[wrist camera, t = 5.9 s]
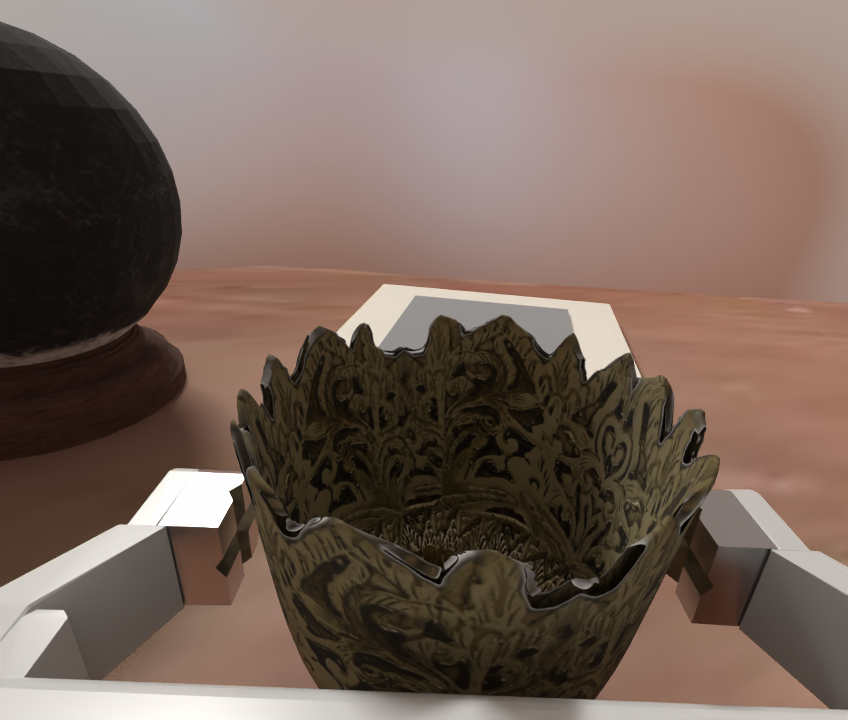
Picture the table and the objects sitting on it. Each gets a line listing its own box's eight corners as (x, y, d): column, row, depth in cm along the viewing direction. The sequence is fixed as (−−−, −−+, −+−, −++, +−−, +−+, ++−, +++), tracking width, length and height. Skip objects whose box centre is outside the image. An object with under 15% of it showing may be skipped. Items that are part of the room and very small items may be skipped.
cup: (523, 548, 16) (560, 301, 13) (696, 837, 9) (862, 487, 6) (274, 594, 14) (241, 319, 11) (278, 995, 8) (200, 614, 4)
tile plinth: (606, 320, 36) (610, 300, 35) (654, 446, 21) (662, 415, 21) (384, 299, 38) (384, 280, 38) (294, 399, 24) (292, 370, 23)
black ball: (-249, 510, 16) (-633, -89, 10) (-51, 350, 28) (-175, 21, 21) (199, 447, 20) (119, -11, 14) (212, 330, 32) (170, 48, 25)
